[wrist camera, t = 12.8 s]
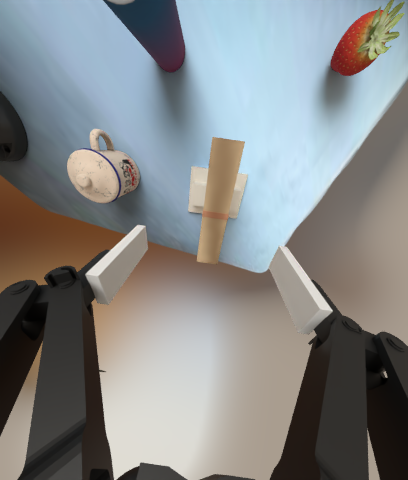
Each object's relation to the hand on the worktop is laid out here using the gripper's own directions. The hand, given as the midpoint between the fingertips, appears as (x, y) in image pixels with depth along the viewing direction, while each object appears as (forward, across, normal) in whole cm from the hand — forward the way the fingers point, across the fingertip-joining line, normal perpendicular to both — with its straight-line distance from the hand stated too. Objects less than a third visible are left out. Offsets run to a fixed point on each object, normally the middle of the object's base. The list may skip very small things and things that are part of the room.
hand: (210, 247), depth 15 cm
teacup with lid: (+23, -22, +3) cm, 32 cm away
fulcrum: (+23, 0, 0) cm, 23 cm away
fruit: (+23, +15, +22) cm, 35 cm away
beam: (+16, 0, 0) cm, 16 cm away
